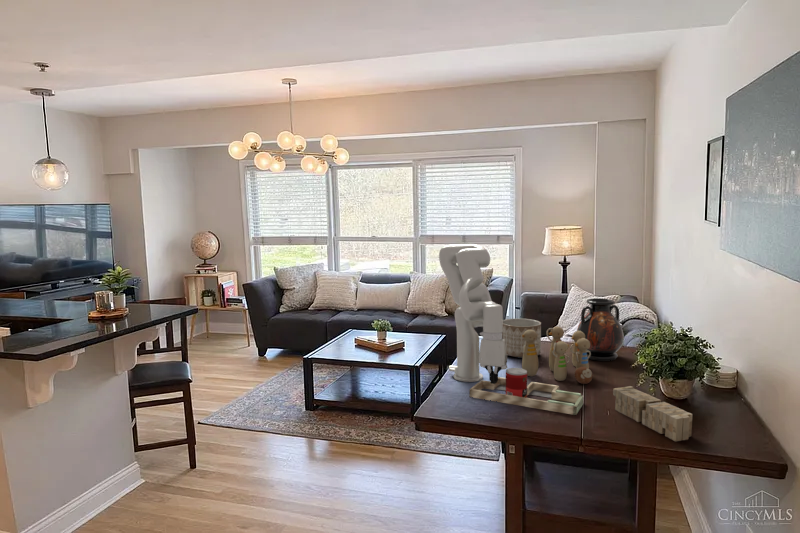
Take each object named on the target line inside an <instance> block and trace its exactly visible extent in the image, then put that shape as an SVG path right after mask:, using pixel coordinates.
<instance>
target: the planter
mask: <svg viewBox="0 0 800 533" xmlns="http://www.w3.org/2000/svg"><path fill="white" fill-rule="evenodd" d="M527 330H534V331H535V332H536V333H537V335H538V336H537V338H536V340H535V341H534V343H536V342H538V343H539V345H540V347H539V349H538V350H537V356H539V355H540V354H541V353H542V352H541V351H542V350H541V349H542V322H541V321H539V320H535V319H530V318H506V319H503V339H504V340H505V344H506V350H507V356H510V357H513V358H517V357H519V358H518V359H521V358H522V359H523V352H522V349H523V346H524V345H525V344H526V341H525V340H524V338H523V337H522V335H523V334H524V332H525V331H527ZM535 347H536V349H537V347H538V344H535ZM524 348H525V347H524Z"/></svg>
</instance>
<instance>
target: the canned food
mask: <svg viewBox="0 0 800 533" xmlns="http://www.w3.org/2000/svg"><path fill="white" fill-rule="evenodd" d="M505 378H506V391H505V394H506V395H512V396H519V397H525V398H528V395H527V386H528V376H527V371H526V370H524V369H522V367H521V368H519V367H508V368H507V369H505Z"/></svg>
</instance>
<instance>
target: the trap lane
mask: <svg viewBox="0 0 800 533" xmlns="http://www.w3.org/2000/svg"><path fill="white" fill-rule="evenodd" d="M484 389H486V390H492V391H486V390H484ZM495 390H496V391H501V392H502V391H503V392H504V391H505V392H506V377H500V376H498V381H497V383H495V384H493V383H492V384H491V383H490V380H484V379H482V380H480V381H477V383H476V384H474V385H473V386H472V387H470V389H469V394H468V395H469V398H472V397H473V398H474V399H481V400H484V399H485V400H486V401H490V400H491V402H496V401H497V402H498V403H503V404H507V405H514V406H520V407H526V408H532V409H537V410H545V411H549V412H556V413H561V414H568V415H573V416H577V414H578V413H579V411H580V409H581V408H582V407H583V405H584V399H585V398H584V395H582V393H579V392H573V391H568V390H567V391H566V390H561V389H560V385H555V384H548V383H543V382H535V381H531V382H530V383H529V384H527V396H535V397H539V398H540V397H542V398H547V400H544V399H543V400H542V399H535V398H529V397H527V398H525V397H519V396H512V395H506V393H505V394H504V393H500V392H494V391H495ZM485 400H484V401H485Z"/></svg>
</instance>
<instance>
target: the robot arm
mask: <svg viewBox="0 0 800 533" xmlns="http://www.w3.org/2000/svg"><path fill="white" fill-rule="evenodd" d="M438 260H439V264H440V267H441V270H442V272H443V273H444V275H445V277H446V279H447V281H448V282H447V283H448V286H449V289H450V292H451V296H452V299H453V302H454V303H455V304H456V305H458V306H459V307H457V308H456V309H455V310H454V322H455V326H456V365H449V366H448V370H449V372H454V373H453V379H454V380H456V381H459V382H466V383H474V382H480V381H481V380H484V379H483V378H484V375H483V373H481V372H480V367H481V368H484V369H485V370H486V371H487V373H488V378H489V379H488V381H490V383H491V384H492V383H493V384H495V383H497V381H498V377H499V372H501V371H502V370H506V369H508V364H507V363H508V355H507V350H506V344H505V340H504V339H503V320H504V316H503V315H504V314H503V313H504V311H503V310H504V309H503V305H501V304H500V303H499V304H498V303H497V302H495V301H493V300H492V298H491V294H490V292H489V289H488V287H487V286H486V284H484V279H485V278H484V275H483V273H482V269H481V268H488V267H489V265H490V263H491V256H490V253H489V251H488V250H487V248H484V247H483V246H480V245H478V244H475V243H461V244H459V243H457V244H447V245H445V246H443V247H441V248H440V250H439V253H438ZM478 327H481V328H482V331H480V332H479V334H478V332H477V331H476V330H475V328H478ZM480 336H481V337H482V338H481V339H480Z"/></svg>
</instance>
